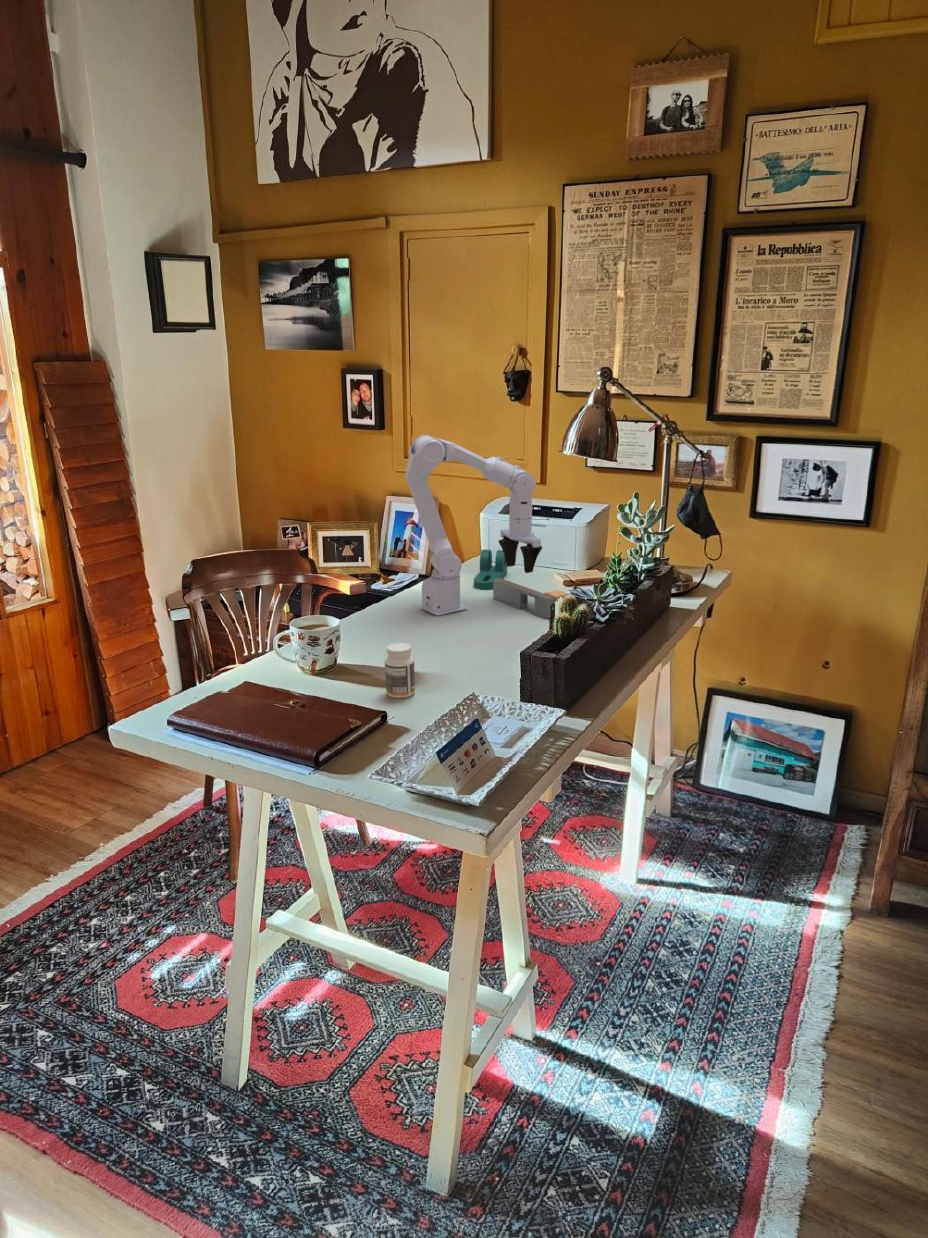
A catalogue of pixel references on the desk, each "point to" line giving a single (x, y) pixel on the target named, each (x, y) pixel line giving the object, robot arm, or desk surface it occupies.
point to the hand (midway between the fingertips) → (519, 569)
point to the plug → (556, 594)
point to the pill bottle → (399, 671)
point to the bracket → (490, 569)
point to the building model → (521, 596)
